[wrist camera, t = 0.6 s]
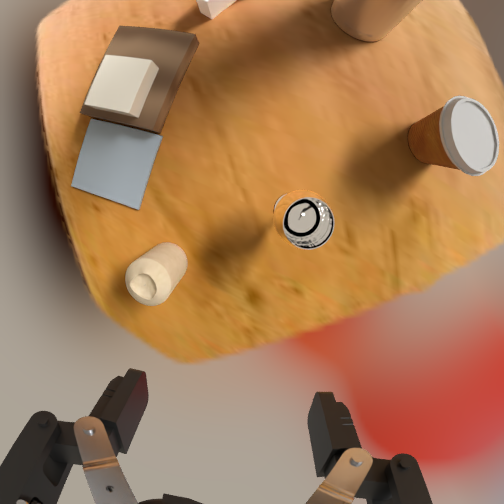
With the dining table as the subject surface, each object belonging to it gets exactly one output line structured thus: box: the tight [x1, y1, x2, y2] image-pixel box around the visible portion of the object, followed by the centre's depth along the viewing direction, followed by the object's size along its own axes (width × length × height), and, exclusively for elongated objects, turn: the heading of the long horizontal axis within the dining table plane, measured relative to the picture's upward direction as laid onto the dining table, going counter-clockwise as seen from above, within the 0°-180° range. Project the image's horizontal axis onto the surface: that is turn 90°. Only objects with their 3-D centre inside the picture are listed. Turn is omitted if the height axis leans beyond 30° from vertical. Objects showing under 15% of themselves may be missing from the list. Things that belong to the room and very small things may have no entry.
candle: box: [125, 242, 187, 306], centre depth 33 cm, size 6×6×10 cm
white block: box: [85, 55, 159, 118], centre depth 28 cm, size 7×7×3 cm
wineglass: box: [273, 189, 334, 250], centre depth 31 cm, size 6×6×12 cm
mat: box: [71, 119, 163, 210], centre depth 35 cm, size 10×12×1 cm
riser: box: [80, 26, 199, 133], centre depth 31 cm, size 14×12×3 cm
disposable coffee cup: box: [408, 96, 499, 176], centre depth 28 cm, size 10×10×12 cm
